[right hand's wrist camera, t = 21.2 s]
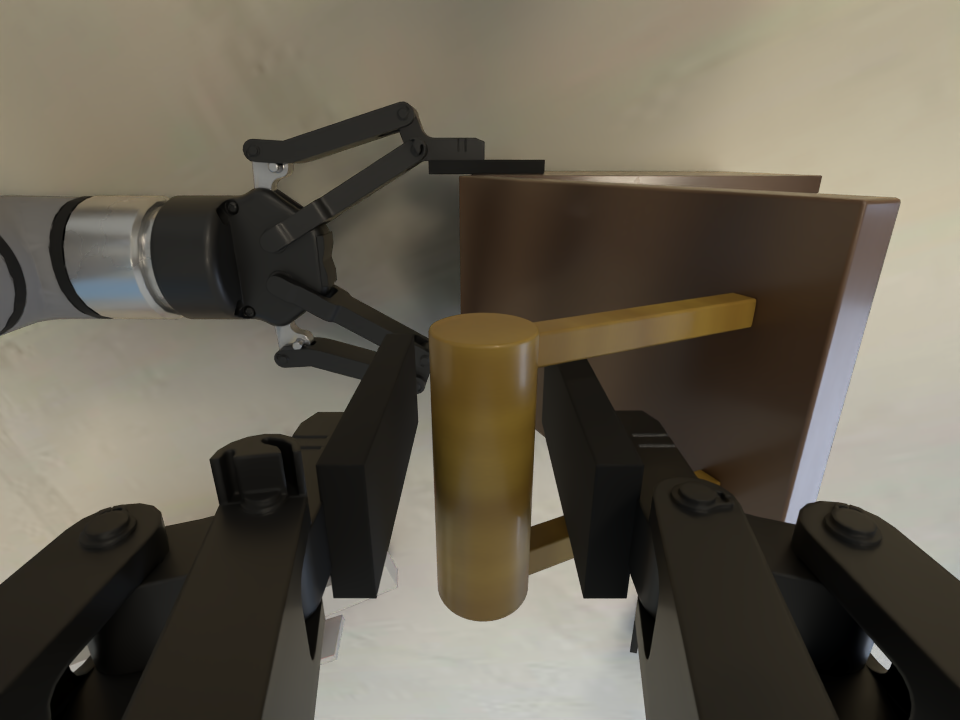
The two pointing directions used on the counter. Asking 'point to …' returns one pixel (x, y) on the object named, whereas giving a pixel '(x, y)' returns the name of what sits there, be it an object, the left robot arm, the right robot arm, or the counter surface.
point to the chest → (689, 179)
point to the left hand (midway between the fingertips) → (537, 258)
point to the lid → (641, 348)
